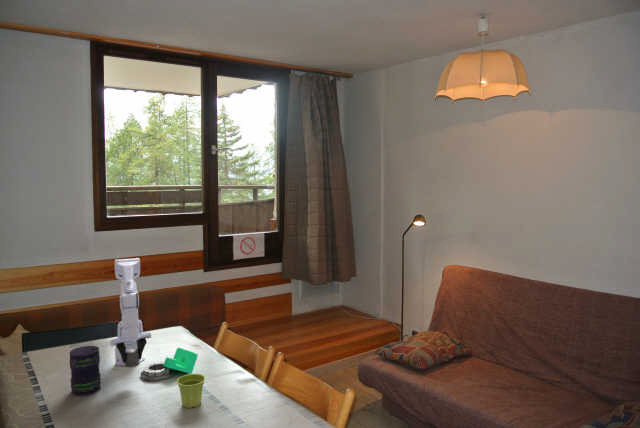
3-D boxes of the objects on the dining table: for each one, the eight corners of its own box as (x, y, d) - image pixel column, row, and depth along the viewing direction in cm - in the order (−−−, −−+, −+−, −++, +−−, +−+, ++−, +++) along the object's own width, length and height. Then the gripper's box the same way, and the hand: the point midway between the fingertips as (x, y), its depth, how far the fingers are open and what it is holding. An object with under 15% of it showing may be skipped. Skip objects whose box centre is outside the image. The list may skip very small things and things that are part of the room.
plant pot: (211, 399, 165) (210, 375, 164) (195, 412, 156) (194, 386, 155) (188, 396, 168) (187, 372, 167) (171, 408, 159) (170, 383, 158)
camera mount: (200, 354, 190) (180, 349, 182) (193, 374, 187) (173, 369, 180) (182, 348, 197) (162, 343, 190) (175, 366, 195) (155, 362, 187)
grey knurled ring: (134, 380, 181) (133, 373, 181) (150, 367, 194) (149, 360, 194) (166, 381, 180) (166, 374, 180) (180, 368, 193) (180, 361, 193)
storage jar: (70, 398, 167) (68, 357, 166) (71, 388, 176) (69, 348, 175) (101, 392, 172) (100, 352, 170) (100, 382, 180) (98, 344, 179)
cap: (122, 366, 176) (121, 353, 176) (129, 361, 181) (128, 348, 181) (135, 367, 176) (134, 353, 175) (141, 362, 181) (141, 348, 180)
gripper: (112, 331, 170) (114, 368, 171) (153, 323, 179) (154, 358, 180) (107, 326, 175) (109, 362, 176) (147, 319, 184) (148, 353, 185)
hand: (131, 360), depth 179 cm, fingers closed on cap, 5 cm apart
